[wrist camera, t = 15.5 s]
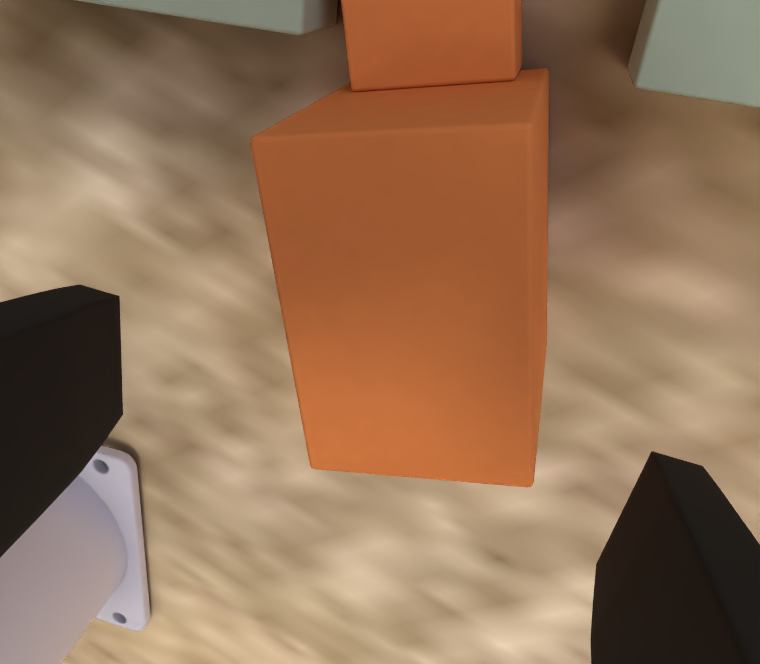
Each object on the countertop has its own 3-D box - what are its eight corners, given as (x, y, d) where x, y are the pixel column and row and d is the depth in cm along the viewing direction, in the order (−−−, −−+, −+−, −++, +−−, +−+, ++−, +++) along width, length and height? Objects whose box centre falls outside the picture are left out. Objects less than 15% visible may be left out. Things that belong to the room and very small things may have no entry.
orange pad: (378, 340, 17) (309, 470, 13) (324, -121, 12) (191, -159, 8) (547, 345, 16) (533, 489, 12) (551, -157, 11) (532, -222, 7)
